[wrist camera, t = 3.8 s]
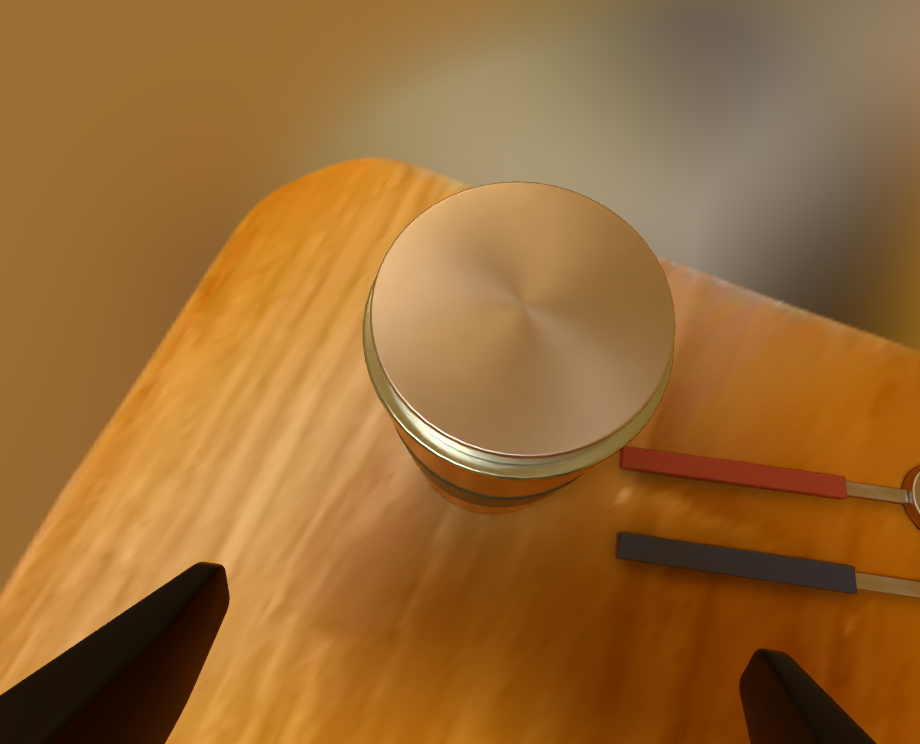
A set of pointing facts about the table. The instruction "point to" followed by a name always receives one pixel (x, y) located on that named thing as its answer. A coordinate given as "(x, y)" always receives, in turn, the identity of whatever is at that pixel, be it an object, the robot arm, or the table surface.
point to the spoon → (771, 477)
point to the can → (517, 341)
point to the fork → (757, 565)
